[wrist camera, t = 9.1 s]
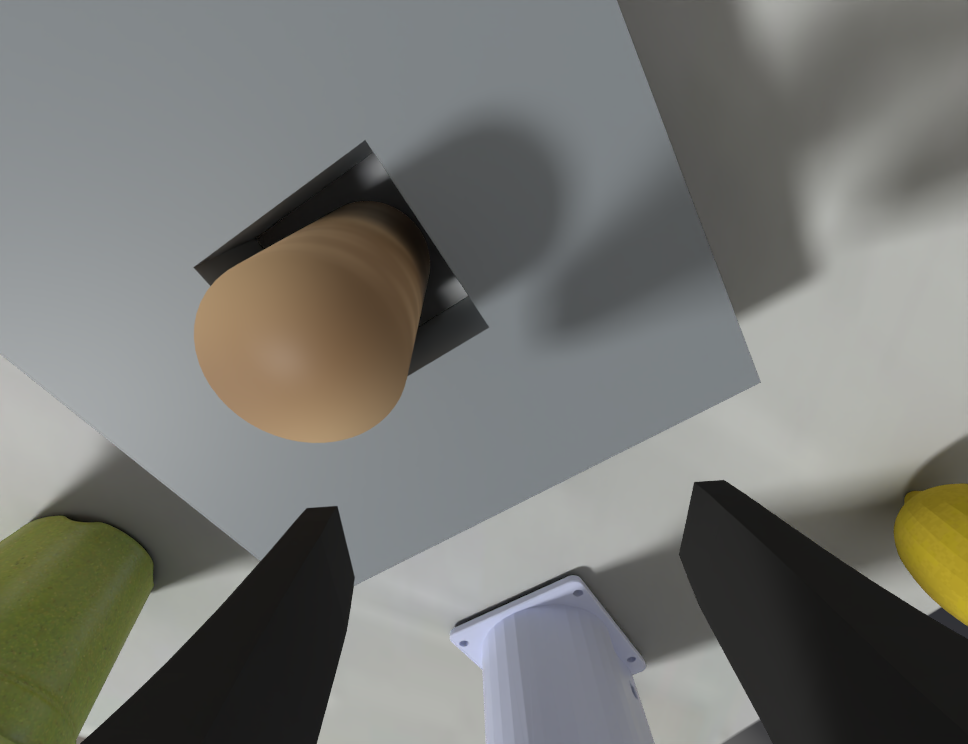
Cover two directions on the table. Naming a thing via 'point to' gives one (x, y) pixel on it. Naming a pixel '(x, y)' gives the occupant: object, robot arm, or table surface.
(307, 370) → the peg
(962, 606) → the lemon
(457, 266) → the socket block
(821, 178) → the table surface
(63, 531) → the plant pot
